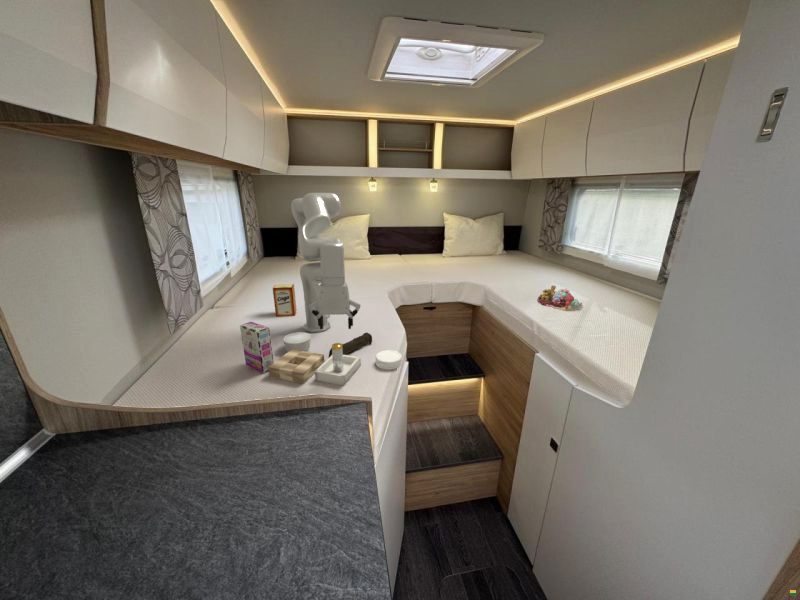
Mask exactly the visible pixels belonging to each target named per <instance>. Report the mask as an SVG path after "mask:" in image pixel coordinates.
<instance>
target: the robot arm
mask: <svg viewBox="0 0 800 600" xmlns="http://www.w3.org/2000/svg"><path fill="white" fill-rule="evenodd" d="M290 206H291V208H290V209H291V213H292V216H293V219H294V220H295V223H296V224H297V228H298V230H299V231H298V236H297V237H298V245H299V250H300V253H301V256H302V259H303V260H304V261H305V262H307V263H304V264H302V265H301V266H300V268H299V275H300V280H301V283H302V290H303V299H304V310H305V311H304V312H305V321H306V323H304V325H303V330H304V331H305V332H306V333H321V332H325V331H327V330H329V329H331V323H330V322H329V321H328V319H330V317H331V315H333V316H334V315H339V316H341V315H346V316H347V317H348V319H347V323H348V324H347V326H348V328H347V329H349V330H351V328H352V327H353V326H354V317H355V316H356V315H357V314H358V312H359V311H360V309H361V304H360V303H358V302H356V301H354V300H352V299H350V292H349V291H350V290H349V286H348V282H346V273H345V246H344V242H342V240H341V239H340V238H338V237H337V238H336V237H320V235H321V234H323V233H325V232H326V231H327V230H328V229H329V228H330V226H331V219H333V218H336V217H337V216H338V215H339V214H340V212H341V208H342V206H341V200H340V198H339V197H338V195H337V194H335V193H334V192H333V193H332V192H309V193H306V194H305V195H304V196H303V197H298V198H295V199H293V200H292V201H291V203H290ZM351 307H354V310H351Z"/></svg>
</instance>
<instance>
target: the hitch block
mask: <svg viewBox="0 0 800 600" xmlns="http://www.w3.org/2000/svg"><path fill="white" fill-rule="evenodd" d="M325 361H326V360H325V354H321V353H315V352H311V351H299V350H293V349H292V350H291V351H289V352H287V353H285V354H284V355H282V356H281V357H280V358H278V359H277V360H275V361H273V362H274V363H273V364H272V365H270V366H269V367H268V369H269V371H268V375H269V376H268V377H269V378H274V379H279V380H283V381H288V382H289V381H290V382H294V383H299V384H306V383H307V382H308V381H309V380H310V379H311V378H312V377H313V376H315V371H316V370H317V369H318V368H319V367H320V366H321V365H322V364H323V363H324V362H325Z"/></svg>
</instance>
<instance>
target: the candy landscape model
mask: <svg viewBox="0 0 800 600" xmlns="http://www.w3.org/2000/svg"><path fill="white" fill-rule="evenodd" d="M556 288H557V287H556V285H551V286H550V288H548V289H544V290H542V293H541V294H540V295H539V296H537V299H536V301H537V303H540V305H544V306H546V307H550V308H553V309H554V310H559V311H564V312H575V311H579V310H582V309H583V308H584V307H583V302H580V301H579V300H578V299H577V298H575V297H574V296H573V295H572V293H570V290H569V289H567V288H560V289H558V290H557V291H556Z"/></svg>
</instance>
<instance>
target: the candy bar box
mask: <svg viewBox="0 0 800 600" xmlns="http://www.w3.org/2000/svg"><path fill="white" fill-rule="evenodd" d="M239 328H240V336H241V343H242V347H243V355H244V360H245V365H246V366H247V367H250V368H251V369H253V370H256V371H258V372H260V373H262V374H265V373H267V372H269V369H268V367H269V366H270V365H272V364H273V363H274V362H275V361H274V356H273V348H272V347H273V346H272V340H271V339H272V338H271V331H270V327H268V326H265V325H262V324H259V323H257V322H254V321H249V322H246V323H243V324H240V325H239Z"/></svg>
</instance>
